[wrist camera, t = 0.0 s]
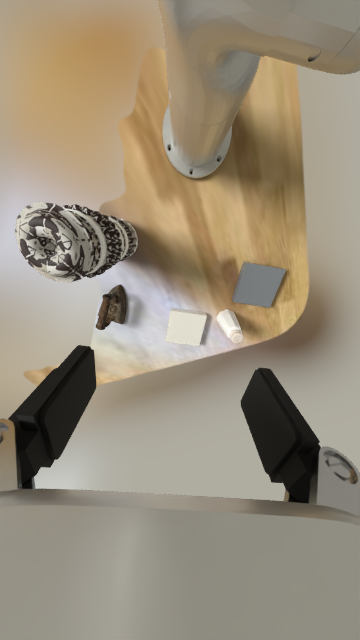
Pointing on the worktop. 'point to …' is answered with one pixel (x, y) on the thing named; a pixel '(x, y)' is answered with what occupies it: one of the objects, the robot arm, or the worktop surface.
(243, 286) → the plate
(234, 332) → the salt shaker
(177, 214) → the worktop surface
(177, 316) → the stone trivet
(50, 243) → the decorative candle
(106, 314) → the clothes iron
